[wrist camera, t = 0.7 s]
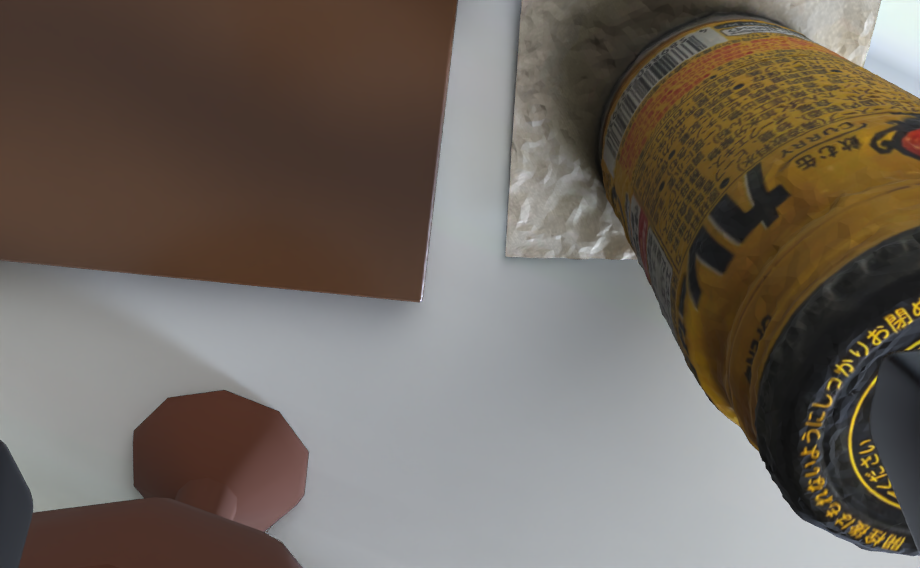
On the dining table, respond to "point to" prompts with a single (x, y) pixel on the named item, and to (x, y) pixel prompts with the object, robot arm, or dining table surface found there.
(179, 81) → the walnut board
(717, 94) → the condiment
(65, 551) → the ice cream bowl
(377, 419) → the dining table surface
